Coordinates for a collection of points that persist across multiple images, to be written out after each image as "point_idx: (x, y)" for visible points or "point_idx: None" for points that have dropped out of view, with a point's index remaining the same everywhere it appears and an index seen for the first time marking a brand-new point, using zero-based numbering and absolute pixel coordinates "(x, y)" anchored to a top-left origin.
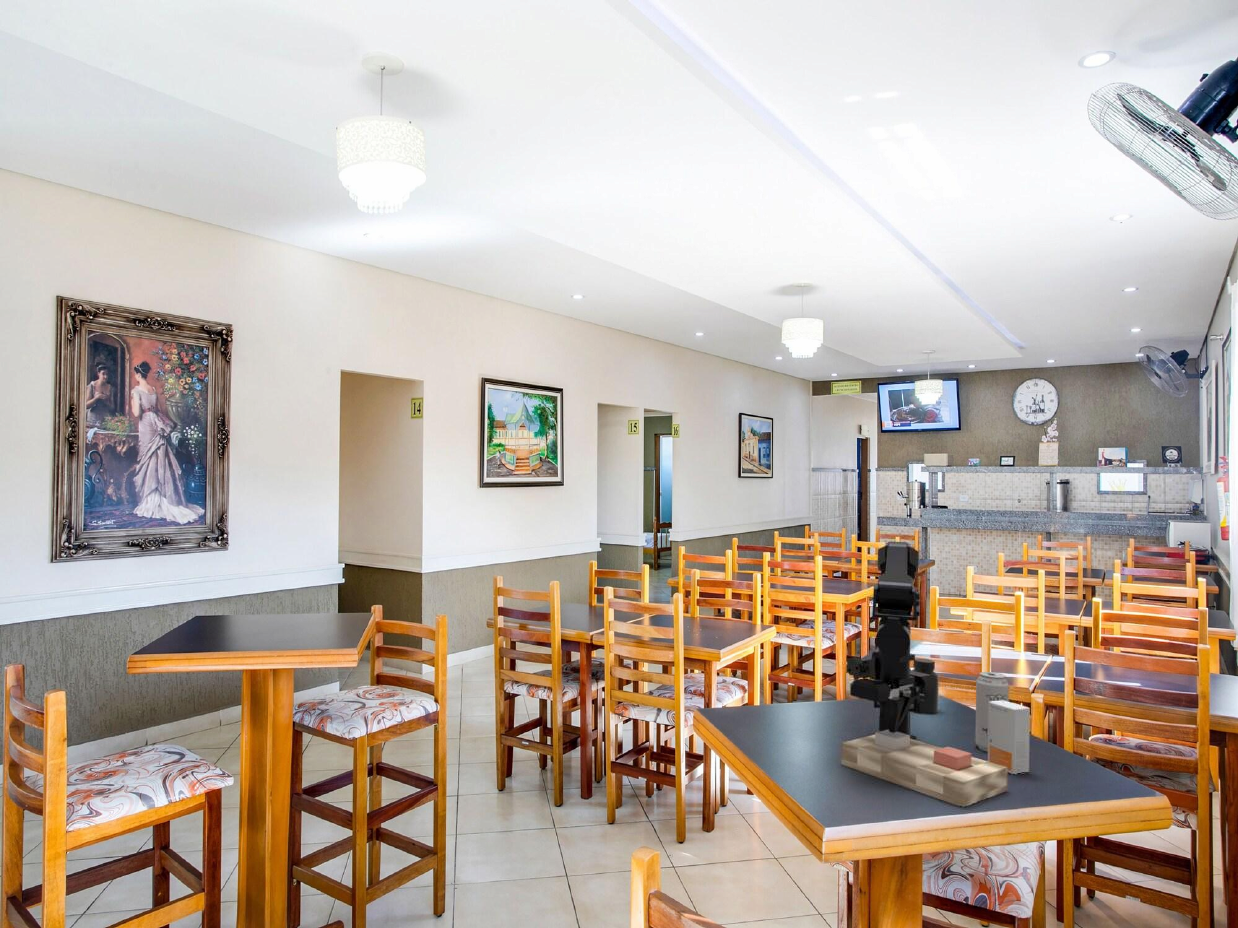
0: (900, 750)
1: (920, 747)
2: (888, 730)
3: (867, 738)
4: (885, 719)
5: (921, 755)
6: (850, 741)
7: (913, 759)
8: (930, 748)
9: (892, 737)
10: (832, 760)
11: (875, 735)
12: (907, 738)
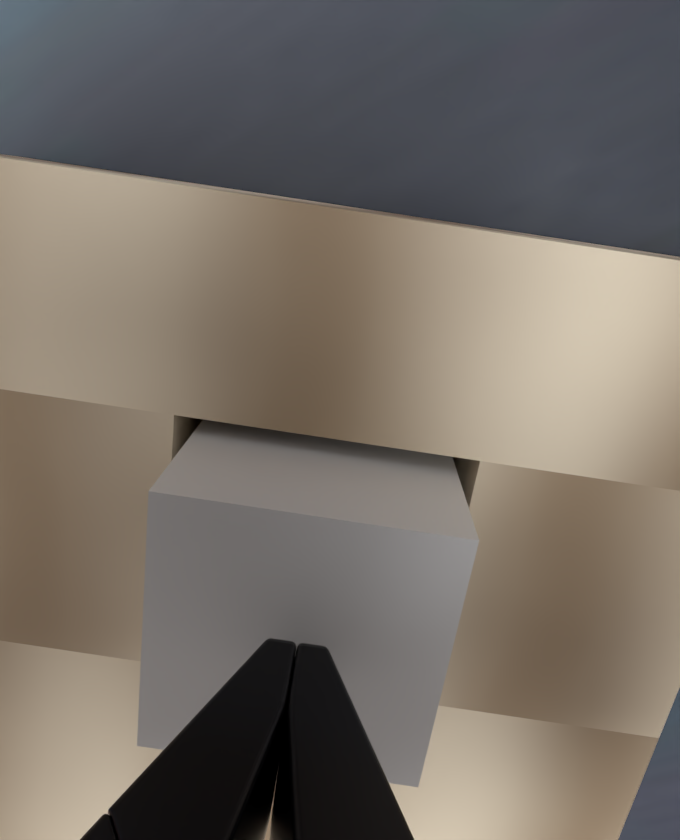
0: None
1: (474, 751)
2: (414, 556)
3: (323, 268)
4: (172, 745)
5: None
6: (18, 188)
7: (87, 823)
8: (515, 809)
9: (156, 704)
10: (44, 23)
11: (160, 480)
12: None
